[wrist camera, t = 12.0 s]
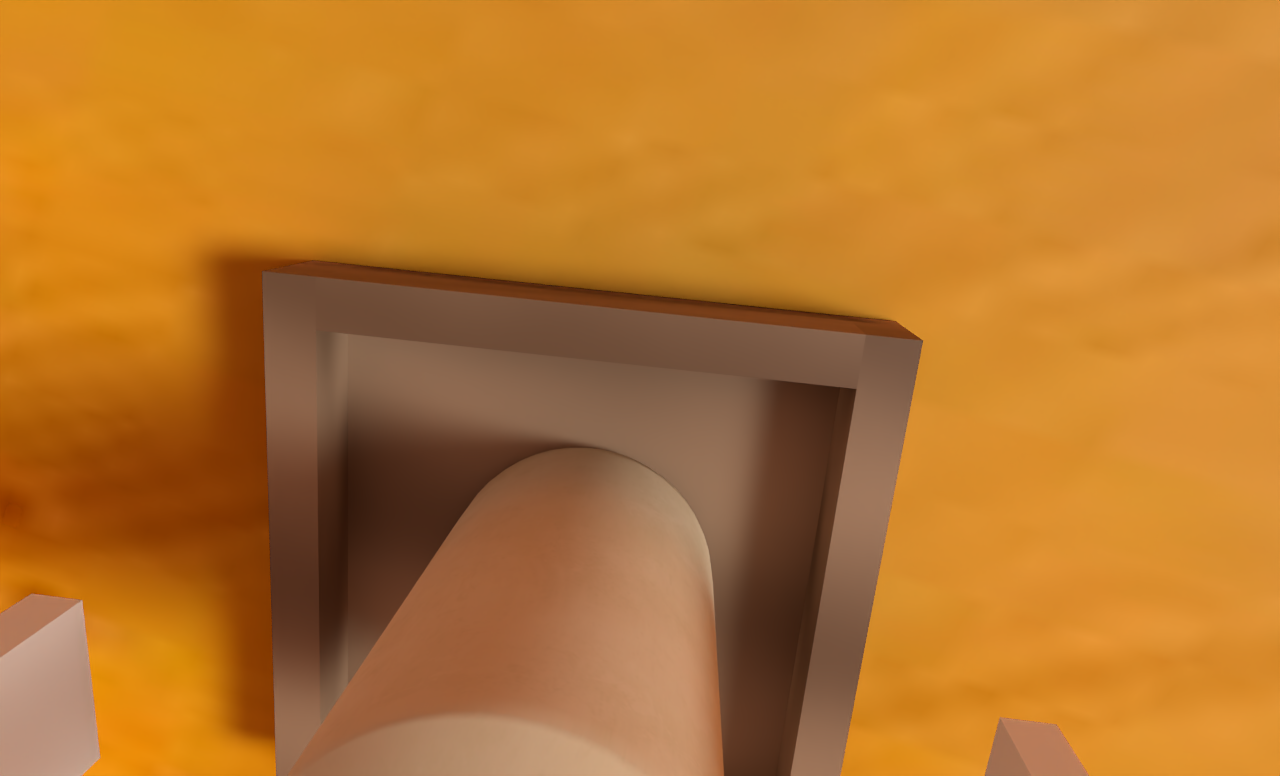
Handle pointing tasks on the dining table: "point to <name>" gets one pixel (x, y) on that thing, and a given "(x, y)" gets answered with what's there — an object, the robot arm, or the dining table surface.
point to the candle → (545, 639)
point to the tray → (582, 418)
